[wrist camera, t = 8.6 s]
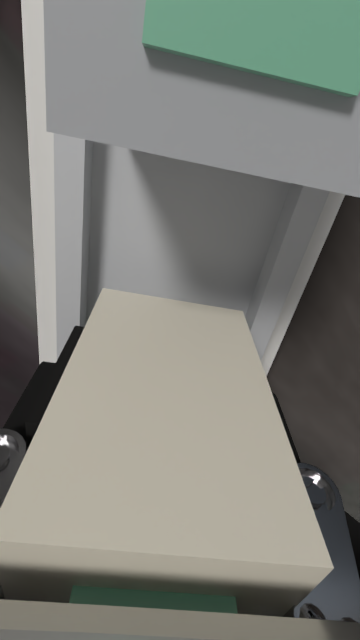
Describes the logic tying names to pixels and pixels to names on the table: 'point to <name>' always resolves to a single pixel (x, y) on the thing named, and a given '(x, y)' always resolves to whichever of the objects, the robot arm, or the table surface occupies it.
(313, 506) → the robot arm
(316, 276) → the table surface
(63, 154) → the rail base
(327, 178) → the mounted module
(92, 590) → the block
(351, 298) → the table surface
